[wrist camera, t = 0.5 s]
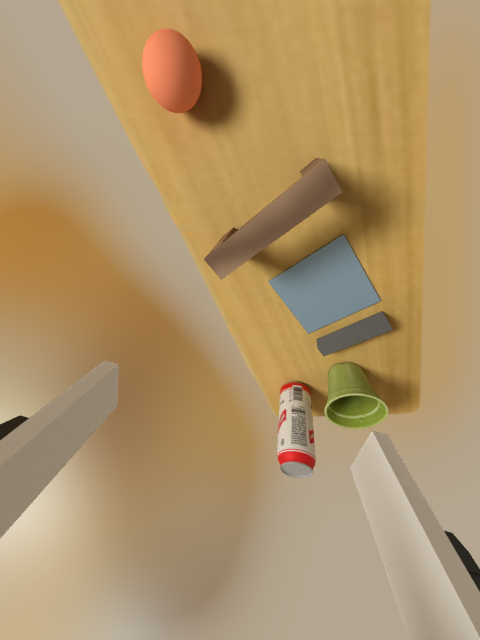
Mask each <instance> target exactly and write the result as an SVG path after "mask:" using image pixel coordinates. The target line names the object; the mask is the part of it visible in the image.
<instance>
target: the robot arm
mask: <svg viewBox="0 0 480 640" xmlns="http://www.w3.org/2000/svg"><path fill="white" fill-rule="evenodd" d="M117 405H118V364H115V363H112V362H108V361H103V362H102V363H100V364H99V365H98V366H96V367H95V368H94V369H93V370H91V371H90V372H89V373H87V374H86V375H85V376H83V377H82V378H81V379H80V380H78V381H77V382H76V383H74V384H73V385H72V386H70V387H69V388H68V389H66V390H65V391H64V392H63V393H61V394H60V395H59V396H57V397H56V398H55V399H53V400H52V401H51V402H50V403H48V404H47V405H46V406H44V407H43V408H42V409H40V410H39V411H38V412H37V413H35V414H34V415H33V416H31V417H30V418H27V417H23V416H18V417H16V418H13V419H11V420H9V421H7V422H5V423H2V424H0V538H1V537H2V536H3V535H4V534H5V533H6V531H7V530H8V529H9V528H10V527H11V526H12V525H13V523H14V522H15V521H16V520H17V519H18V518H19V517H20V516H21V514H22V513H23V512H24V511H25V510H26V509H27V508H28V506H29V505H30V504H31V503H32V502H33V501H34V500H35V499H36V497H37V496H38V495H39V494H40V492H42V490H43V489H44V488H45V487H46V486H47V485H48V484H49V483H50V481H51V480H52V479H53V478H54V477H55V476H56V475H57V474H58V472H59V471H60V470H61V469H62V468H63V467H64V466H65V465H66V463H67V462H68V461H69V460H70V459H71V458H72V456H73V455H74V454H75V453H76V452H77V451H78V450H79V448H81V446H82V445H83V444H84V443H85V442H86V441H87V440H88V438H89V437H90V436H91V435H92V434H93V433H94V432H95V430H96V429H97V428H98V427H99V426H100V425H101V423H102V422H103V421H104V420H105V419H106V418H107V417H108V416H109V415H110V413H111V412H112V411H113V410H114V409H115V408H116V407H117ZM350 469H351V472H352V475H353V478H354V480H355V484H356V486H357V489H358V492H359V495H360V498H361V501H362V504H363V507H364V510H365V513H366V516H367V518H368V521H369V524H370V527H371V530H372V533H373V536H374V539H375V542H376V544H377V547H378V550H379V553H380V556H381V559H382V562H383V565H384V568H385V571H386V573H387V577H388V579H389V582H390V585H391V588H392V591H393V594H394V597H395V600H396V603H397V606H398V608H399V611H400V614H401V617H402V620H403V623H404V626H405V629H406V631H407V635H408V637H409V640H480V569H479V567H478V566H477V564H476V563H475V561H474V559H473V558H472V556H471V555H470V553H469V552H468V551H467V550H466V549H465V547H464V546H463V545H462V544H461V543H460V541H459V540H458V539H457V538H456V537H455V536H454V535H453V533H450V532H447V531H444V530H443V529H442V527H441V525H440V523H439V522H438V520H437V518H436V517H435V515H434V513H433V511H432V510H431V508H430V506H429V505H428V503H427V501H426V500H425V498H424V496H423V494H422V493H421V491H420V489H419V488H418V486H417V484H416V483H415V481H414V480H413V477H412V476H411V474H410V472H409V471H408V469H407V467H406V466H405V464H404V462H403V460H402V459H401V457H400V455H399V454H398V452H397V450H396V449H395V447H394V445H393V443H392V442H391V440H390V438H389V437H388V435H386V434H383V433H378V432H375V431H372V432H371V433H370V435H369V437H368V439H367V440H366V442H365V444H364V445H363V447H362V449H361V450H360V452H359V454H358V456H357V457H356V459H355V461H354V462H353V464H352V466H351V467H350Z"/></svg>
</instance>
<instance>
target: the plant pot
mask: <svg viewBox="0 0 480 640" xmlns="http://www.w3.org/2000/svg"><path fill="white" fill-rule="evenodd" d="M324 411H325V416H326V418H327V419H328V420H329V421H330V422H332V423H333V424H335V425H338V426H340V427H344V428H350V429H364V428H369V427H372V426H375V425H378V424H379V423H381V422H382V421H384V419H385V418H386V417H387V415H388V407H387V405H386V404H385V402H384V401H383V400H381V399H380V398H379V397H378V396H377V395H376V394H375V392H374V390H373V388H372V387H371V385H370V383H369V381H368V380H367V378H366V376H365V374H364V372H363V370H362V369H361V367H359V366H358V365H357V364H354V363H350V362H346V363H342V364H339V363H338V364H336V365H334V366H333V367H331V368H330V370H329V372H328V400H327V404H326V406H325V410H324Z"/></svg>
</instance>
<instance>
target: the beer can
mask: <svg viewBox="0 0 480 640" xmlns="http://www.w3.org/2000/svg"><path fill="white" fill-rule="evenodd" d="M277 456H278V461H279V463H280V465H281V466H280V469H281V471H282V472H283V473H284V474H286V475H288V476H291V477H296V478H307V477H310V476H311V475H312V474H313V468H314V466H315V462H316V460H315V445H314V432H313V420H312V407H311V394H310V390H309V388H308V387H307V386H305V385H304V384H302V383H300V382H289V383H287V384H285V385H284V386H283V387H282V388H281V391H280V407H279V429H278V452H277Z"/></svg>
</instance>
